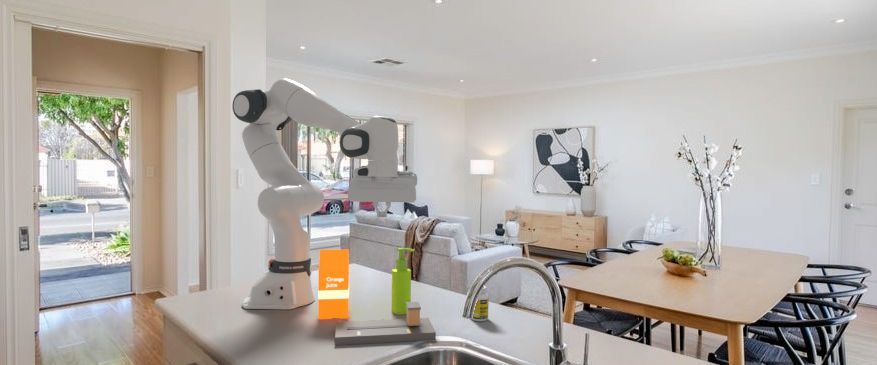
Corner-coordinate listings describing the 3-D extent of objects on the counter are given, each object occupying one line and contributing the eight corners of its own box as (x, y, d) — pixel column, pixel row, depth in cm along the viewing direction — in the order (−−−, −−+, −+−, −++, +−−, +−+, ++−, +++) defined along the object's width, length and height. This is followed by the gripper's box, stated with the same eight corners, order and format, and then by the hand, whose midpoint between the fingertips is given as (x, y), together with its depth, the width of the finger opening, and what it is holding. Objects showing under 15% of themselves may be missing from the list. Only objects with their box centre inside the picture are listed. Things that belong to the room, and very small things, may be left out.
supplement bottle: (480, 323, 141) (481, 290, 141) (466, 318, 145) (466, 286, 144) (491, 318, 145) (492, 286, 145) (477, 314, 149) (478, 283, 148)
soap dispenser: (410, 315, 147) (411, 250, 146) (389, 313, 149) (389, 249, 148) (415, 309, 153) (416, 247, 152) (394, 308, 154) (395, 246, 153)
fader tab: (407, 327, 129) (408, 307, 129) (405, 321, 134) (405, 302, 134) (420, 327, 130) (420, 307, 130) (417, 320, 135) (417, 301, 135)
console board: (334, 345, 123) (335, 336, 122) (336, 329, 134) (336, 321, 134) (435, 339, 127) (435, 331, 127) (428, 324, 139) (428, 317, 139)
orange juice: (348, 318, 144) (348, 251, 143) (317, 319, 142) (318, 252, 142) (349, 310, 151) (349, 247, 151) (320, 311, 150) (320, 247, 149)
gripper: (416, 171, 148) (414, 216, 149) (348, 169, 144) (347, 215, 145) (418, 172, 142) (417, 218, 143) (348, 170, 138) (347, 218, 139)
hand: (381, 217), depth 144 cm, fingers closed
